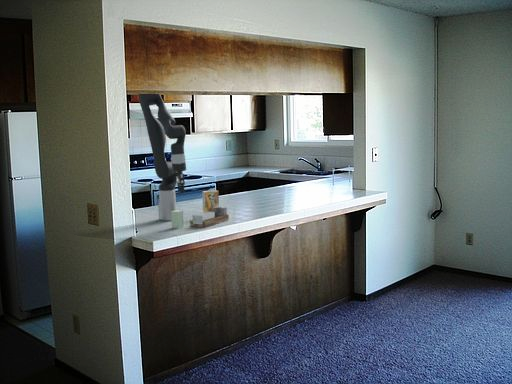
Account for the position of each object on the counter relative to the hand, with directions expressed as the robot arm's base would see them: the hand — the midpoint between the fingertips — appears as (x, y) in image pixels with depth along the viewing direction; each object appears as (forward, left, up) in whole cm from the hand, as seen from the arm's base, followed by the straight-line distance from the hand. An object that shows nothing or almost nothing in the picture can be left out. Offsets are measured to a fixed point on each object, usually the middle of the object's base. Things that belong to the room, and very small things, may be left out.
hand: (181, 191), depth 332 cm
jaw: (+12, +3, -17) cm, 21 cm away
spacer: (+3, -8, -18) cm, 20 cm away
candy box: (+3, +25, -18) cm, 31 cm away
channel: (+12, +9, -18) cm, 23 cm away
